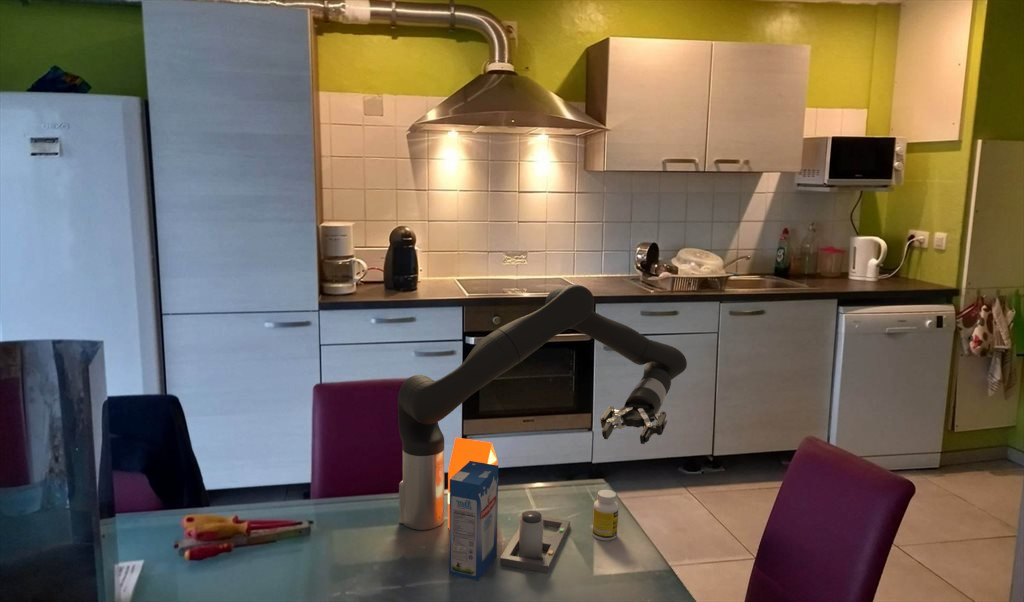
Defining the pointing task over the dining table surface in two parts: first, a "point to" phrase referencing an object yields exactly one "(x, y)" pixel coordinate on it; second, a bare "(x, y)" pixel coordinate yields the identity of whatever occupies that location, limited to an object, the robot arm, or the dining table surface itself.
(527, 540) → the seated grey plug
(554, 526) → the two-slot grey tray
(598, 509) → the supplement bottle
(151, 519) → the dining table surface
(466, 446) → the orange juice
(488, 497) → the milk carton
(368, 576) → the dining table surface
